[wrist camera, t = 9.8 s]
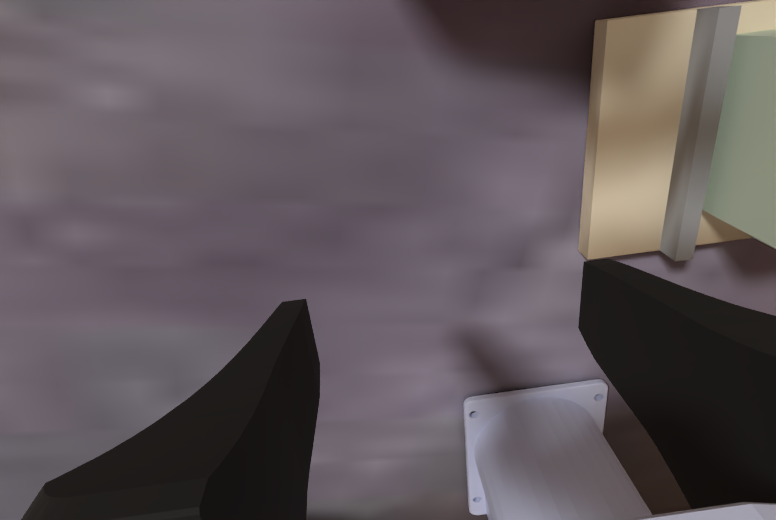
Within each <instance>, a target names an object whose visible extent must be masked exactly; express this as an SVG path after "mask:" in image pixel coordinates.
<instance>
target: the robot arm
mask: <svg viewBox="0 0 776 520" xmlns="http://www.w3.org/2000/svg"><path fill="white" fill-rule="evenodd" d="M579 330H580V332H581V334H582V336H583V338H584V340H585V342H586V344H587V346H588V348H589V350H590V351H591V353H592V355H593V357H594V359H595V360H596V362H597V363H598V365H599V366H600V367H601V369H602V370H603V372H604V373H605V374H606V376H607V377H608V379H609V380H610V381H611V383H612V384H613V386H614V387H615V388H616V390H617V391H618V392H619V394H620V395H621V396H622V398H623V399H624V401H625V402H626V403H627V405H628V406H629V407H630V409H631V410H632V411H633V413H634V414H635V416H636V417H637V418H638V420H639V421H640V422H641V424H642V425H643V426H644V428H645V429H646V431H647V432H648V434H649V435H650V437H651V438H652V440H653V441H654V443H655V444H656V446H657V448H658V450H659V451H660V453H661V455H662V456H663V458H664V460H665V462H666V463H667V465H668V467H669V469H670V470H671V472H672V474H673V475H674V477H675V479H676V481H677V483H678V484H679V486H680V488H681V490H682V492H683V494H684V495H685V497H686V499H687V501H688V503H689V505H690V507H691V508H692V509H691V510H684V511H677V512H670V513H663V514H656V515H652V513H651V512H650V510H649V509H648V507H647V505H646V504H645V502H644V500H643V499H642V497H641V496H640V494H639V492H638V491H637V489H636V487H635V486H634V484H633V483H632V481H631V479H630V478H629V476H628V475H627V473H626V471H625V470H624V468H623V466H622V465H621V463H620V462H619V460H618V458H617V457H616V455H615V454H614V452H613V450H612V449H611V447H610V445H609V444H608V442H607V441H606V439H605V437H604V436H603V427H604V418H605V410H606V402H607V394H608V386H607V384H606V383H605V382H604V380H601V379H595V380H588V381H581V382H574V383H566V384H559V385H552V386H544V387H537V388H530V389H523V390H515V391H508V392H501V393H494V394H486V395H479V396H472V397H468V398H467V399H466V400H465V401H464V404H463V409H464V428H465V447H466V466H467V485H468V504H469V510H470V513H471V514H473V515H482V514H487V516H488V519H489V520H776V316H773V315H770V314H766V313H762V312H759V311H755V310H751V309H748V308H744V307H741V306H738V305H734V304H731V303H728V302H725V301H722V300H719V299H716V298H713V297H710V296H707V295H704V294H702V293H699V292H696V291H693V290H691V289H688V288H685V287H683V286H680V285H677V284H675V283H672V282H670V281H667V280H664V279H662V278H659V277H657V276H654V275H652V274H649V273H647V272H644V271H641V270H639V269H636V268H634V267H631V266H628V265H626V264H623V263H620V262H617V261H613V260H610V259H602V260H595V261H587V262H584V266H583V278H582V291H581V303H580V316H579ZM597 394H599V395H597ZM596 395H597V396H596ZM319 398H320V362H319V357H318V352H317V348H316V343H315V339H314V334H313V329H312V325H311V320H310V315H309V311H308V306H307V302H306V299H302V300H294V301H287V302H282V303H281V304H280V305H279V306H278V308H277V309H276V310H275V311H274V312H273V314H272V315H271V316H270V317H269V318H268V320H267V321H266V322H265V323H264V324H263V326H262V327H261V328H260V329H259V330H258V332H257V333H256V334H255V335H254V336H253V337H252V338H251V340H250V341H249V342H248V343H247V344H246V345H245V346H244V347H243V348H242V349H241V350H240V351H239V353H238V354H237V355H236V356H235V357H234V358H233V359H232V360H231V361H230V362H229V363H228V364H227V365H226V366H225V367H224V368H223V369H222V370H221V371H220V372H219V373H218V374H217V375H215V376H214V377H213V378H212V379H211V380H210V381H209V382H208V383H206V384H205V385H204V386H203V387H202V388H200V389H199V390H198V391H197V392H196V393H195V394H193V395H192V396H191V397H190V398H188V399H187V400H186V401H184V402H183V403H181V404H180V405H179V406H177V407H176V408H175V409H173V410H172V411H170V412H169V413H168V414H166V415H165V416H163V417H162V418H161V419H159V420H158V421H156V422H155V423H154V424H152V425H151V426H149V427H147V428H146V429H144V430H143V431H141V432H139V433H138V434H136V435H135V436H133V437H132V438H130V439H128V440H126V441H125V442H123V443H121V444H120V445H118V446H116V447H115V448H113V449H111V450H109V451H108V452H106V453H104V454H102V455H100V456H99V457H97V458H95V459H93V460H91V461H89V462H87V463H85V464H83V465H81V466H79V467H77V468H75V469H73V470H71V471H69V472H67V473H65V474H63V475H61V476H59V477H58V478H55V479H53V480H51V481H49V482H47V483H45V485H44V486H43V488H42V489H41V490H40V492H39V493H38V495H37V496H36V498H35V499H34V501H33V502H32V504H31V505H30V507H29V509H28V510H27V512H26V513H25V515H24V516H23V518H22V519H21V520H306V511H307V489H308V478H309V470H310V463H311V456H312V449H313V442H314V435H315V428H316V420H317V413H318V406H319ZM473 411H476V412H474V413H471V412H473Z"/></svg>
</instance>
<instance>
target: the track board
mask: <svg viewBox="0 0 776 520" xmlns="http://www.w3.org/2000/svg"><path fill="white" fill-rule="evenodd" d="M772 29H776V0H755V1H747V2H739V3H731V4H723V5H715V6H707V7H699V8H690V9H682V10H674V11H666V12H658V13H650V14H642V15H634V16H626V17H618V18H610V19H602V20H595V31H594V44H593V58H592V71H591V85H590V99H589V112H588V126H587V139H586V153H585V166H584V180H583V194H582V207H581V221H580V234H579V248H578V251H579V252H580V253H581V254H582V255H583V256H584V257H585V258H586V259H587V260H589V259H597V258H604V257H612V256H619V255H627V254H634V253H642V252H649V251H657V250H660V251H661V252H663V253H664V254H666V255H667V256H668V257H670V258H671V259H672V260H674V261H675V262H676V261H683V260H691V259H693V256H694V251H695V246H696V245H702V244H709V243H717V242H724V241H732V240H740V239H747V238H753V239H755V240H757V241H759V242H761V243H763V244H765V245H767V246H768V247H770V248H772V249H773V247H772V246H770V245H768V244H766V243H764V242H762V241H760V240H758V239H756V238H754V237H753V236H751V235H749V234H747V233H745V232H743V231H741V230H739V229H737V228H736V227H734V226H732V225H730V224H728V223H726V222H724V221H722V220H720V219H719V218H717V217H715V216H713V215H711V214H709V213H707V212H705V211H703V210H702V209H703V204H704V199H705V194H706V189H707V183H708V178H709V173H710V168H711V163H712V158H713V152H714V147H715V142H716V137H717V132H718V126H719V121H720V116H721V111H722V106H723V100H724V95H725V90H726V85H727V80H728V75H729V69H730V64H731V59H732V54H733V49H734V43H735V38H736V34H740V33H748V32H756V31H764V30H772Z"/></svg>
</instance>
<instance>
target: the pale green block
mask: <svg viewBox="0 0 776 520" xmlns="http://www.w3.org/2000/svg"><path fill="white" fill-rule="evenodd" d="M702 210H703V211H705V212H707V213H709V214H711V215H713V216H715V217H717V218H719V219H720V220H722V221H724V222H726V223H728V224H730V225H732V226H734V227H736V228H737V229H739V230H741V231H743V232H745V233H747V234H749V235H751V236H753V237H754V238H756V239H758V240H760V241H762V242H764V243H766V244H768V245H770V246H772V247H773V248H775V249H776V29H772V30H764V31H756V32H748V33H740V34H736V38H735V43H734V49H733V54H732V59H731V64H730V69H729V75H728V80H727V85H726V90H725V95H724V100H723V106H722V111H721V116H720V121H719V126H718V132H717V137H716V142H715V147H714V152H713V158H712V163H711V168H710V173H709V178H708V183H707V189H706V194H705V199H704V204H703V209H702Z"/></svg>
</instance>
